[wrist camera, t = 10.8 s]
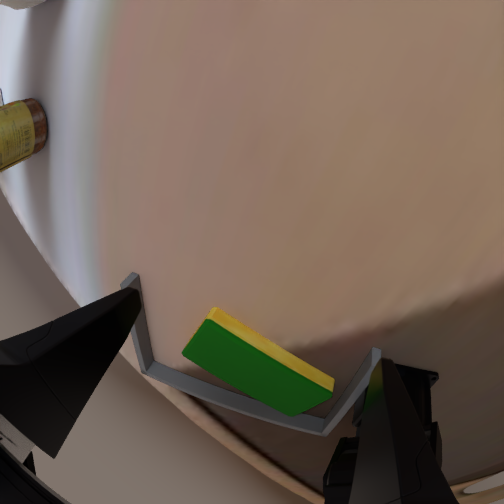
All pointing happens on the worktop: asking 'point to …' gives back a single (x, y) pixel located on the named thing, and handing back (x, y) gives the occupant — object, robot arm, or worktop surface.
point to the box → (237, 400)
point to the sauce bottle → (21, 131)
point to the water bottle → (21, 3)
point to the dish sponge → (256, 365)
